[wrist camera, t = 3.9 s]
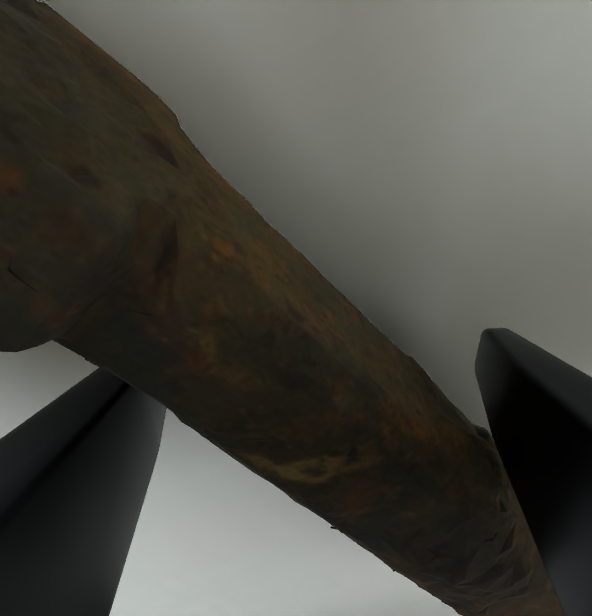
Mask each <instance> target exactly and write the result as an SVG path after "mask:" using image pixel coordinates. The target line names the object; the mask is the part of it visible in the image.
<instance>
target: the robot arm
mask: <svg viewBox="0 0 592 616" xmlns="http://www.w3.org/2000/svg"><path fill="white" fill-rule="evenodd" d="M475 374H476V378H477V381H478V385H479V389H480V392H481V396H482V400H483V403H484V407H485V411H486V414H487V418H488V422H489V425H490V429H491V432H492V436H493V439H494V442H495V445H496V448H497V450H498V453H499V456H500V458H501V461H502V463H503V466H504V468H505V470H506V473H507V475H508V478H509V480H510V483H511V485H512V488H513V490H514V492H515V495H516V497H517V500H518V502H519V505H520V507H521V510H522V512H523V514H524V517H525V519H526V522H527V524H528V527H529V529H530V532H531V534H532V536H533V539H534V541H535V544H536V546H537V549H538V551H539V554H540V556H541V558H542V561H543V563H544V566H545V568H546V571H547V573H548V576H549V578H550V580H551V583H552V585H553V588H554V590H555V593H556V595H557V598H558V600H559V603H560V605H561V607H562V610H563V612H564V615H565V616H592V377H590V376H588V375H586V374H585V373H583V372H581V371H580V370H578V369H576V368H574V367H573V366H571V365H569V364H568V363H566V362H564V361H562V360H561V359H559V358H557V357H555V356H554V355H552V354H550V353H549V352H547V351H545V350H543V349H542V348H540V347H538V346H537V345H535V344H533V343H531V342H530V341H528V340H526V339H525V338H523V337H521V336H519V335H518V334H516V333H514V332H512V331H511V330H509V329H507V328H487V329H485V330H483V332H482V334H481V337H480V342H479V347H478V351H477V356H476V360H475ZM165 413H166V407H165V406H164V405H162V404H161V403H159V402H158V401H157V400H155V399H154V398H152V397H150V396H148V395H147V394H145V393H143V392H141V391H140V390H138V389H136V388H134V387H133V386H131V385H129V384H128V383H126V382H125V381H124V380H122V379H121V378H119V377H117V376H115V375H114V374H112V373H110V372H108V371H107V370H105V369H102V368H100V367H99V368H98V369H96V370H95V371H93V372H92V373H91V374H89V375H88V376H87V377H85V378H84V379H82V380H81V381H80V382H78V383H77V384H76V385H74V386H73V387H71V388H70V389H69V390H67V391H66V392H65V393H63V394H62V395H60V396H59V397H58V398H56V399H55V400H54V401H52V402H51V403H49V404H48V405H47V406H45V407H44V408H43V409H41V410H40V411H38V412H37V413H36V414H34V415H33V416H32V417H30V418H29V419H27V420H26V421H25V422H23V423H22V424H21V425H19V426H18V427H16V428H15V429H14V430H12V431H11V432H10V433H8V434H7V435H5V436H4V437H3V438H1V439H0V616H109V614H110V611H111V608H112V604H113V601H114V598H115V595H116V591H117V588H118V585H119V581H120V578H121V575H122V571H123V568H124V565H125V561H126V558H127V555H128V552H129V548H130V545H131V542H132V538H133V535H134V532H135V528H136V525H137V522H138V518H139V515H140V512H141V509H142V505H143V502H144V499H145V495H146V492H147V489H148V485H149V482H150V479H151V475H152V472H153V469H154V466H155V462H156V459H157V455H158V451H159V447H160V441H161V436H162V430H163V425H164V419H165Z"/></svg>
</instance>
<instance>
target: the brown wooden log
mask: <svg viewBox="0 0 592 616" xmlns="http://www.w3.org/2000/svg"><path fill="white" fill-rule="evenodd" d="M51 340H53V341H55V342H57V343H59V344H61V345H62V346H64V347H66V348H68V349H70V350H71V351H73V352H75V353H77V354H79V355H81V356H82V357H84V358H85V360H87V361H89V362H91V363H93V364H95V365H97V366H98V367H100V368H102V369H105V370H107V371H108V372H110V373H112V374H114V375H115V376H117V377H119V378H121V379H122V380H124V381H125V382H126V383H128V384H129V385H131V386H133V387H134V388H136V389H138V390H140V391H141V392H143V393H145V394H147V395H148V396H150V397H152V398H154V399H155V400H157V401H158V402H159V403H161V404H162V405H164V406H165V407H167V408H168V409H170V410H171V411H173V412H174V414H175V415H176V416H177V417H178V418H179V420H180V421H181V422H183V423H184V424H186V425H188V426H189V427H191V428H192V429H194V430H195V431H197V432H198V433H199V434H200V435H201V436H203V437H204V438H206V439H207V440H209V441H210V442H212V443H213V444H214V445H216V446H217V447H218V448H220V449H221V450H222V451H224V452H225V453H227V454H228V455H230V456H231V457H232V458H234V459H235V460H237V461H238V462H239V463H241V464H242V465H244V466H245V467H247V468H248V469H249V470H251V471H252V472H254V473H255V474H257V475H259V476H260V477H262V478H264V479H265V480H267V481H269V482H270V483H272V484H273V485H275V486H276V487H278V488H279V489H280V490H282V491H283V492H285V493H286V494H287V495H288V496H289V497H290V498H291V499H293V500H294V501H295V502H297V503H298V504H300V505H302V506H304V507H306V508H307V509H309V510H310V511H312V512H314V513H315V514H317V515H318V516H320V517H321V518H323V519H324V520H326V521H327V522H328V523H330V524H331V525H332V526H334V527H332V526H331V528H332V529H338V530H339V531H340V532H341V533H344V534H345V535H346V536H348V537H349V538H350V539H352V540H353V541H354V542H356V543H357V544H358V545H360V546H361V547H363V548H364V549H366V550H368V551H369V552H371V553H373V554H374V555H375V556H377V557H378V558H379V559H380V560H382V561H383V562H384V563H385V564H386V565H388V566H389V567H390V568H391V569H392V570H393V572H394V571H396V572H398V573H400V574H402V575H404V577H407V578H408V579H410V580H411V581H413V582H415V583H416V584H417V585H418V586H419V587H420V588H422V589H423V590H426V591H427V592H429V593H430V594H432V596H435V597H437V598H438V599H440V600H441V601H442V602H443V603H445V604H447V605H449V606H451V607H452V608H453V609H454V610H455V611H456V612H457V613H458V614H460V615H462V616H565V615H564V612H563V610H562V607H561V605H560V603H559V600H558V598H557V595H556V593H555V590H554V588H553V585H552V583H551V580H550V578H549V576H548V573H547V571H546V568H545V566H544V563H543V561H542V558H541V556H540V554H539V551H538V549H537V546H536V544H535V541H534V539H533V536H532V534H531V532H530V529H529V527H528V524H527V522H526V519H525V517H524V514H523V512H522V510H521V507H520V505H519V502H518V500H517V497H516V495H515V492H514V490H513V488H512V485H511V483H510V480H509V478H508V475H507V473H506V470H505V468H504V466H503V463H502V461H501V458H500V456H499V453H498V450H497V448H496V445H495V442H494V439H493V437H492V436H491V434H490V433H489V432H488V431H487V429H485V428H482V427H479V426H476V425H473V424H472V423H471V422H470V421H469V420H468V419H467V418H466V417H465V416H464V415H463V414H462V412H461V411H459V410H458V409H457V408H456V407H455V406H454V405H453V404H452V403H451V402H450V401H449V400H448V399H447V398H446V396H445V395H444V394H443V393H442V392H441V390H440V389H439V388H438V387H437V386H436V385H435V383H434V382H433V381H432V380H431V378H430V377H429V376H428V375H427V374H426V372H425V371H424V370H423V369H422V367H421V366H420V365H419V364H418V363H417V362H416V361H415V360H414V359H413V358H412V357H410V356H407V355H405V354H404V353H403V352H402V351H400V350H399V349H398V348H397V347H396V346H395V345H394V344H393V343H392V342H391V341H390V340H389V339H387V338H386V337H385V336H384V335H383V334H382V333H381V332H380V331H379V330H378V329H377V328H376V327H375V326H374V325H373V324H371V323H370V322H369V321H368V320H367V319H366V318H365V317H364V316H363V315H362V314H361V313H360V312H359V311H358V310H357V309H356V308H355V307H354V306H353V305H352V304H351V303H350V302H349V301H348V300H347V299H346V298H345V297H344V296H343V295H342V294H341V293H340V292H339V291H338V290H336V289H335V288H334V287H333V286H332V285H331V284H330V283H329V282H328V281H327V280H326V279H325V278H324V277H323V276H322V275H321V274H320V273H319V272H318V271H317V270H316V268H315V267H314V266H313V265H312V264H311V263H310V262H309V261H308V260H307V259H306V258H305V257H304V256H303V255H302V254H301V253H300V252H298V251H297V250H296V249H295V248H294V247H293V246H292V245H291V244H290V243H289V242H288V241H287V240H286V239H285V238H284V237H282V236H281V235H280V234H279V233H278V232H277V231H276V230H274V229H273V228H272V227H271V226H270V225H269V224H268V223H267V222H266V221H265V220H264V219H263V217H262V216H261V215H260V214H259V213H258V212H257V211H256V210H255V209H254V208H253V207H252V205H251V204H250V203H249V202H248V201H247V200H246V199H245V198H244V197H243V196H241V195H240V194H239V193H238V192H237V191H236V190H235V189H234V188H233V187H232V186H231V185H230V184H229V183H228V182H227V181H226V180H225V179H224V178H223V177H222V176H221V175H219V174H218V173H217V172H216V171H215V170H214V169H213V168H212V167H211V165H210V164H209V163H208V162H207V161H206V159H205V158H204V157H203V156H202V155H201V153H200V152H199V151H198V150H197V149H196V147H195V146H194V145H193V144H192V142H191V141H190V140H189V138H188V137H187V136H186V134H185V133H184V132H183V130H182V129H181V128H180V126H179V122H178V119H177V116H176V115H175V114H174V113H173V112H172V111H171V110H170V109H169V107H168V106H167V105H166V104H165V103H164V102H163V101H162V100H161V99H160V98H159V97H158V96H157V95H156V94H155V93H154V92H152V91H151V90H150V89H149V88H148V87H147V86H146V85H144V84H143V83H142V82H141V81H140V80H139V79H137V78H136V77H135V76H134V75H133V74H132V73H130V72H129V71H128V70H127V69H125V68H124V67H123V66H122V65H120V64H119V63H118V62H117V61H115V60H114V59H113V58H112V57H110V56H109V55H108V54H107V53H105V52H104V51H103V50H102V49H101V48H99V47H98V46H97V45H96V44H95V43H93V42H92V41H91V40H90V39H88V38H87V37H86V36H85V35H84V34H82V33H81V32H80V31H79V30H78V29H76V28H75V27H74V26H73V25H71V24H70V23H69V22H68V21H67V20H65V19H64V18H63V17H62V16H61V15H59V14H58V13H57V12H56V11H54V10H53V9H52V8H51V7H50V6H48V5H47V4H46V3H43V2H37V1H36V0H0V352H19V351H22V350H26V349H30V348H33V347H37V346H39V345H41V344H44V343H46V342H48V341H51Z"/></svg>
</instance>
